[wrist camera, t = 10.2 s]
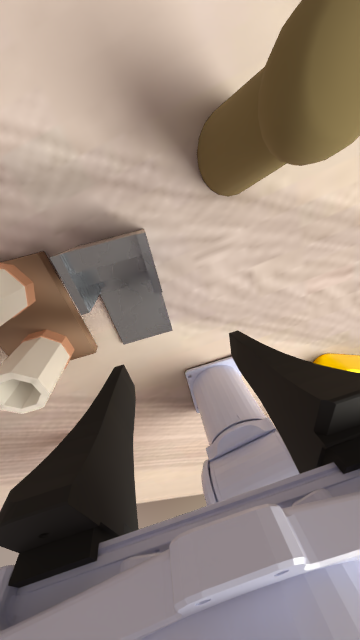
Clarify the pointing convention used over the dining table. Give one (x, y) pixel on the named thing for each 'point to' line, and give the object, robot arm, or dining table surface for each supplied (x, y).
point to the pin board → (46, 310)
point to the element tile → (340, 361)
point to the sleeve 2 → (33, 371)
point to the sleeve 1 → (14, 292)
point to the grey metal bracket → (117, 283)
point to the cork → (289, 101)
